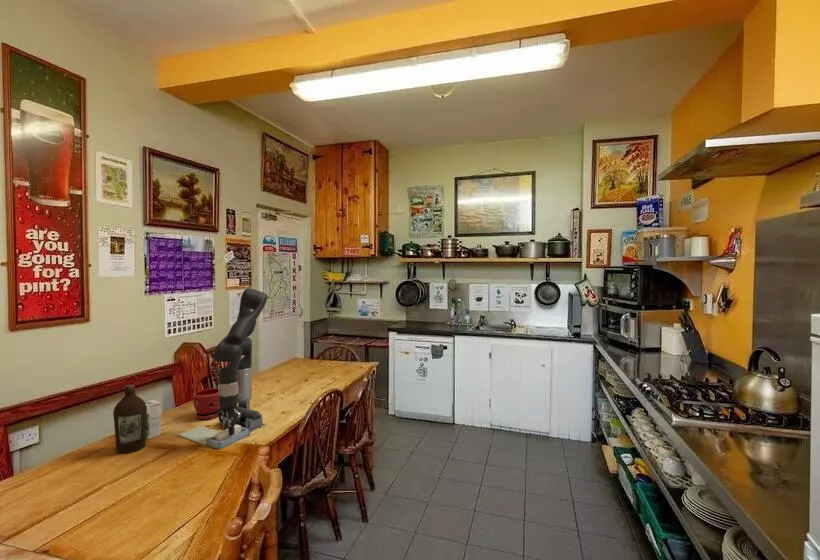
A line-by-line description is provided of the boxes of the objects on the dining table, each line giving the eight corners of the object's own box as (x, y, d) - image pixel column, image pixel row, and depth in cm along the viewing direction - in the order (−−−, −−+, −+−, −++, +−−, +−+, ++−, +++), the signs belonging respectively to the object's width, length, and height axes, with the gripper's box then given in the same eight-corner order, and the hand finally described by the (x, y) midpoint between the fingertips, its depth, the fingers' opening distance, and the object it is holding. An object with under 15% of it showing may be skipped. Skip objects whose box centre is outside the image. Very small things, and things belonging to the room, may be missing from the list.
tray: (206, 445, 154) (206, 439, 154) (238, 431, 167) (238, 426, 167) (219, 449, 151) (219, 443, 151) (250, 435, 164) (250, 429, 164)
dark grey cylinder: (226, 413, 177) (225, 406, 177) (232, 411, 180) (232, 403, 180) (253, 421, 168) (252, 412, 168) (259, 418, 172) (259, 410, 171)
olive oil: (115, 446, 153) (114, 384, 153) (147, 440, 159) (146, 380, 158) (112, 457, 144) (111, 391, 144) (147, 450, 150) (145, 386, 150)
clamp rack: (220, 424, 175) (220, 401, 175) (236, 418, 182) (236, 395, 182) (249, 432, 166) (249, 408, 166) (264, 425, 174) (264, 402, 173)
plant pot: (229, 411, 191) (229, 387, 191) (213, 421, 178) (213, 396, 178) (204, 410, 193) (204, 386, 192) (187, 420, 180) (186, 395, 179)
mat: (178, 436, 163) (178, 434, 163) (200, 427, 172) (200, 426, 172) (205, 445, 154) (205, 443, 154) (227, 435, 163) (227, 434, 163)
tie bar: (215, 440, 155) (215, 433, 155) (237, 430, 164) (236, 424, 164) (219, 441, 154) (219, 435, 154) (241, 431, 163) (240, 425, 162)
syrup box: (139, 437, 162) (138, 403, 161) (154, 432, 167) (153, 399, 166) (146, 440, 159) (146, 405, 159) (161, 434, 164) (161, 401, 164)
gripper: (209, 392, 158) (210, 434, 159) (231, 398, 152) (232, 441, 152) (225, 387, 165) (226, 427, 166) (247, 392, 159) (248, 434, 159)
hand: (229, 433), depth 159 cm, fingers closed on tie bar, 2 cm apart
